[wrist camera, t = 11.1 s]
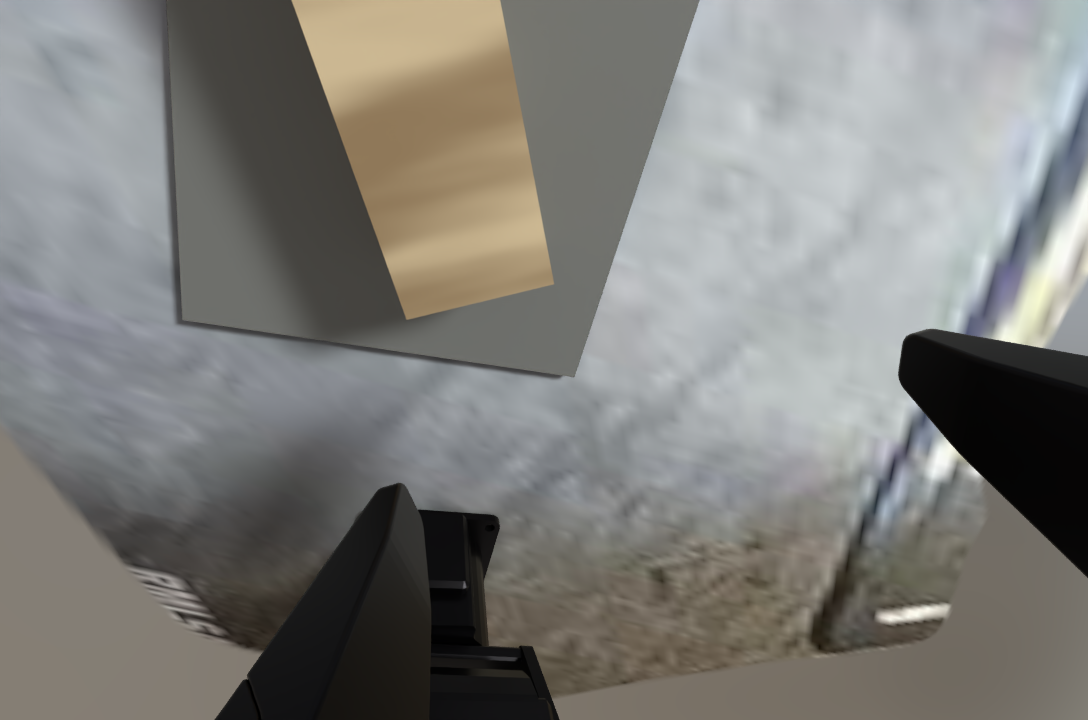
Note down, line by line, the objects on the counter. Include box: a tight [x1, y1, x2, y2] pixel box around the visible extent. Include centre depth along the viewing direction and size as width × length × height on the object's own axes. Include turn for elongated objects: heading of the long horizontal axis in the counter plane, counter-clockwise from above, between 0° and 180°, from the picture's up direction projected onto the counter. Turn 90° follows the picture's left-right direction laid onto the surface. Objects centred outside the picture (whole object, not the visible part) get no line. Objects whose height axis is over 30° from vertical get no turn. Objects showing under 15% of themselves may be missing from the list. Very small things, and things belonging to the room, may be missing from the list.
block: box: [292, 0, 554, 320], centre depth 15 cm, size 4×4×12 cm
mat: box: [166, 0, 699, 377], centre depth 17 cm, size 18×15×1 cm
